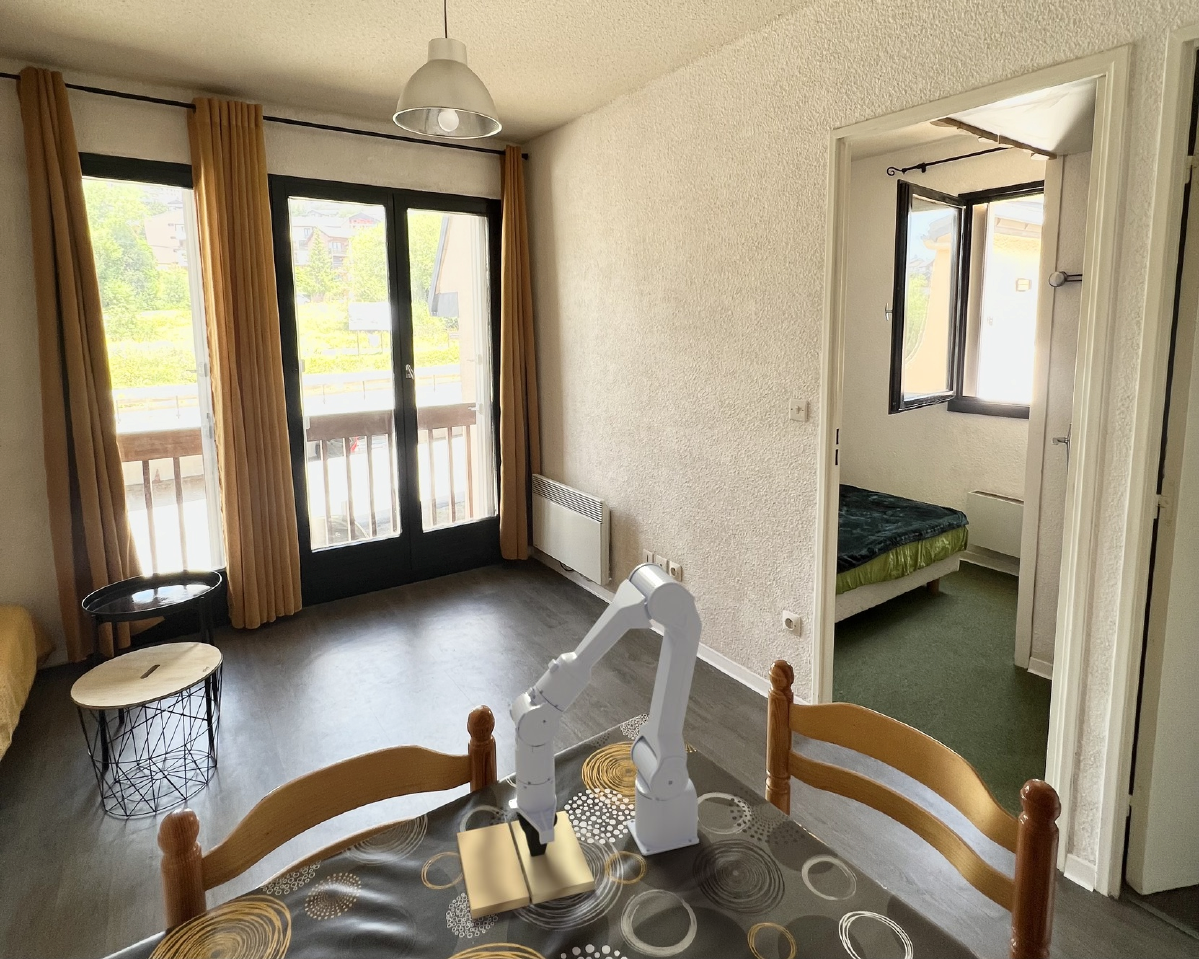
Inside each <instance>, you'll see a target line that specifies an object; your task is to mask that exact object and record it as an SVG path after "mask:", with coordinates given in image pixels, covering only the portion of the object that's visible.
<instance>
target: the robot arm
mask: <svg viewBox="0 0 1199 959" xmlns="http://www.w3.org/2000/svg"><path fill="white" fill-rule="evenodd" d="M650 620H653V621H654V622H656V624H657V623H658V624H659V625H661V626H663V628H664V632H663V636H662V637H663V638H662V642H661V647H660V648H661V649H660V653H659V658H658V664H657V670H656V674H655V675H656V676H655V681H654V687H653V692H652V697H651V703H650V709H649V713H648V714H649V715H648V720H647V722H645V723H643V724H641V725H640V726H639V732H638V735H637V737H636V738H635V740H634V741H633V742H632V744H631V747H630V752H629V755H630V759H631V761H632V763H633V764H634V765H635V766H636V775H635V785H634V788H635V790H634V792H635V793H634V810H635V811H634V818H633V819H628V820H626V822H625V824H626V826H627V829H628V830H629V832H630V834H631V836H632V838H633V840H634V842H635V843H636V845H637V847H638V849H639V851H640V853H641V855H643V856H650V855H654V854H660V853H663V852H666V851H671V850H675V849H680V848H683V847H687V846H693V845H696V844H699V843H700V838H699V837H698V822H699V821H698V818H699V801H698V796H697V791H696V788H695V786H694V783H693V781H692V780H691V778H690V777H689V776H690V775H689V770H688V768H687V761H688V752H687V749H686V748H687V747H686V745H685V741H684V737H683V728H684V724H685V719H686V713H687V709H688V708H687V707H688V702H689V698H690V692H691V686H692V682H693V681H692V680H693V677H694V671H695V665H696V661H697V656H698V649H699V645H700V639H701V635H702V630H703V623H702V620H701V616H700V615H699V611H698V610H697V607H696V604H695V596H694V595H693V594H692V593H691V592H690V591H689V590H688V589H687V588H686V587H684V585H682V584H680V583H679V582H678V581H676V580H675V579H674V578H673V577H672V576H671V575H670V574H669V573H667V571H665V570H664V568H663V567H661V566H660V565H659V564H657V563H653V562H643V563H642V564H639V565H637V566H635V568H634V569H633V570H632V571H631V572H630V574H629V576H628V579H627V578H625V579H624V580H623V581H622V582H621V583H620V584H619V586H618V588H617V590H616V593H615V595H614V597H613V599H612V601H611V602H610V603H609V604H608V606H607V607H606V609H605V610H604V611H603V613H602V614H601V616H600V617H599V618H598V620H596V622H595V623H594V625H592V627H591V628H590V629H589V631H588V633H587V634H586V635H585V636H584V637H583V639H582V641H580V643H579V645H577V647H576V648H575V649H574V651H571V652H564V653H561V654H560V655H559V656H558V658H557V659H555V658H552V660H550V662H548V664H547V667H548V669H547V670H546V671H545V672H544V674H542V676H541V677H540V678H539V680H538V681H537V682H536V683H535V684H534V686H530V687H529V688H528V689H527V691H526V692H523V693H521V694H520V695H519V696H517V697H516V699H515V700H514V702H513V704H512V705H511V708H510V709H509V710H508V711H509V716H510V718H511V720H512V721H513V722H514V725H515V728H514V730H515V732H514V733H515V737H514V739H515V744H514V761H515V762H514V763H515V764H514V765H515V792H516V793H515V794H516V796H515V798H512V799H510V800H509V801H508V807H509V812H511V813H515V814H516V816H517V819H518V820H519V823H520V826H521V828H522V830H523V831H524V833H525V836H526V840H527V845H528V848H529V851H530V854H531V857H535V856H539V855H544V854H545V851H546V848H547V844H548V843H550V842H554V841H555V831H554V826H555V825H556V824H557V820H558V817H557V814H556V810H557V803H558V802H557V801H558V800H557V795H556V779H555V778H556V774H555V771H556V770H555V768H556V767H555V742H554V737H556V736H557V734H558V732H559V729H560V724H561V723H560V722H561V719H562V718H563V715H564V714H565V712H566V710H568V708H569V707H570V706H571V705H572V704H573V703H574V702H575V700H576V699H577V698H578V697H579V695H581V693H582V692H583V691H584V690H585V689H586V688H587V687H588V685H589V684H590V682H591V681H592V668H593V667H594V666H595V665H596V664H597V663H598V662H599V661H600V659H602V657H604V655H605V654H606V653H608V652H609V651H610V650H611V648H612V647H613V646H614V645H615V644H616V643H617V642H618V641H619V640H620V639H621V638H622V637H623V636H624V635H625V634H627V632H629V630H631V629H634V630H635V629H637V630H638V629H652V628H653V624H652V622H651V621H650ZM518 820H517V821H518Z"/></svg>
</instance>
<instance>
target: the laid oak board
mask: <svg viewBox="0 0 1199 959" xmlns="http://www.w3.org/2000/svg"><path fill="white" fill-rule="evenodd" d="M456 839H457V847H458V852H459V858H460V863H461V868H462V872H463V880H464V883H465V889H466V894H467V898H468V904H469V909H470V914H471V919H472V920H474V919H478V918H482V917H486V916H491V915H495V914H498V913H502V912H507V911H511V910H512V911H513V910H515V909H519V908H520V909H521V908H524V907H527V906H530V892H529V889H528V886H527V882H526V879H525V876H524V872H523V869H522V866H521V862H520V859H519V855H518V852H517V849H516V845H515V842H514V839H513V835H512V832H511V828H510V825H509V823H508V822H505V823H503V822H502V823H498V824H494V825H490V826H485V827H480V828H475V829H470V830H466V831H460V832H456Z"/></svg>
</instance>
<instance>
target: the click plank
mask: <svg viewBox="0 0 1199 959" xmlns="http://www.w3.org/2000/svg"><path fill="white" fill-rule="evenodd" d="M555 812H556V811H555ZM556 814H557V817H558V820H557V824H556V825H555V826H554V831H555V841H554V842H550V843H548V844H547V848H546V851H545V854H544V855H539V856H535V857H531V854H530V851H529V848H528V845H527V840H526V836H525V833H524V831H523V830H522V828H521V826H520V823H519V820H514V821H510V832H511V836H512V839H513V843H514V846H515V849H516V853H517V856H518V859H519V863H520V866H521V870H522V873H523V876H524V880H525V883H526V887H527V890H528V893H529V897H530V899H531V902H532V905H537V904H539V903H543V902H548V901H552V900H556V899H560V898H561V899H562V898H564V897H568V896H572V895H573V896H574V895H577V894H581V893H585V892H589V891H594V890H595V879H594V877H593V874H592V871H591V869H590V867H589V864H588V862H587V860H586V857H585V855H584V852H583V850H582V848H581V846H580V843H579V840H578V838H577V835H576V833H575V831H574V828H573V827H572V826H573V825H572V824H571V822H570V819H569V816H568V813H567V811H566V810H562V811H558V812H556Z"/></svg>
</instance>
